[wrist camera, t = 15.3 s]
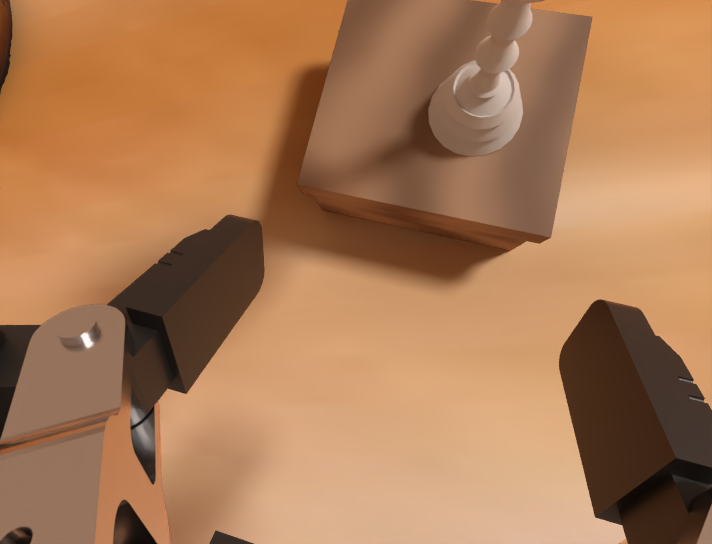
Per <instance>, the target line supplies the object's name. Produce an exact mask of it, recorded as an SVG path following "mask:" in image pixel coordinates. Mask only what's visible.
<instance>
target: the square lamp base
mask: <svg viewBox="0 0 712 544" xmlns="http://www.w3.org/2000/svg"><path fill="white" fill-rule="evenodd" d="M496 5H497V4H494V3H487V2H480V1H472V0H348V1H347V4H346V8H345V12H344V15H343V19H342V22H341V26H340V30H339V33H338V37H337V41H336V44H335V48H334V51H333V55H332V59H331V62H330V66H329V70H328V73H327V77H326V80H325V84H324V88H323V91H322V95H321V98H320V102H319V106H318V109H317V113H316V117H315V120H314V124H313V127H312V131H311V135H310V138H309V142H308V146H307V149H306V153H305V156H304V160H303V164H302V167H301V171H300V175H299V178H298V182H297V185H298V187H299V188H300V190H301V191H302V193H303V194H307V195H312V196H314V197H315V199H316V200H317V202H318V204H319V205H320V207H321V209H322V210H325V211H330V212H335V213H339V214H344V215H349V216H353V217H358V218H362V219H367V220H372V221H376V222H381V223H386V224H390V225H395V226H400V227H404V228H409V229H413V230H418V231H423V232H427V233H432V234H437V235H441V236H446V237H451V238H455V239H460V240H464V241H469V242H474V243H478V244H483V245H488V246H492V247H497V248H501V249H506V250H513V249H514V248H516V247H518V246H519V245H521V244H522V243H524V242H526V241H529V242H534V243H539V244H540V243H541V242H543V241H545V240H547V239H549V238H551V234H552V229H553V224H554V218H555V213H556V208H557V202H558V197H559V192H560V186H561V181H562V176H563V171H564V165H565V160H566V155H567V149H568V144H569V139H570V134H571V128H572V123H573V118H574V112H575V107H576V102H577V96H578V91H579V86H580V81H581V75H582V70H583V65H584V59H585V54H586V49H587V44H588V38H589V33H590V28H591V22H592V17H590V16H582V15H575V14H568V13H560V12H553V11H546V10H538V9H531V8H530V10H531V12H532V19H533V20H532V23H531V27H530V28H529V29H528V31H527V32H526V33H525V34H524V35H522V36H521V37H519V38H517V39H515V41H516V43H517V45H518V47H519V56H518V59H517V61H516V62H515V64H514V65H513V66H512V67H511V68H510V70H511V71H512V72H513V73H514V74H515V77H516V79H517V81H518V83H519V90H520V93H521V99H522V107H523V116H522V120H521V123H520V127H519V129H518V131H517V132H516V134H515V135H514V137H513V138H512V140H511V141H509V142H508V143H507V144H506V145H504V146H503V147H502V148H501V149H499V150H497V151H494V152H492V153H489V154H487V155H481V156H466V155H461V154H456V153H454V152H452V151H451V150H449V149H447V148H445V147H444V146H443V145H442V144H441V143H440V142H439V141H438V140H437V139H436V137H435V136H434V134H433V132H432V129H431V127H430V125H429V114H428V109H429V106H430V102H431V98H432V96H433V94H434V93H435V91H436V90H437V88H438V87H439V85H440V84H441V83H443V82H444V81H445V80H446V79H447V78H448V77H449V76H451V75H452V74H453V73H454V72H455V71H456V70H457V69H458V68H460V67H461V66H462V65H464V64H467V63H469V62H471V61H475V52H476V48H477V46H478V45H479V43H480V42H481V41H482V40H484V39H485V38H486V37H488V36H491V33H490V32H489V30H488V28H487V18H488V15H489V13H490V11H491V10H492V8H494V7H495V6H496Z"/></svg>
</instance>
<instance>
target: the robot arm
mask: <svg viewBox="0 0 712 544" xmlns="http://www.w3.org/2000/svg"><path fill="white" fill-rule="evenodd" d="M263 278H264V255H263V239H262V227H261V224H260V222H259V221H256V220H251V219H247V218H243V217H238V216H234V215H227V216H225V217H224V218H223V219H222V220H221V221H220V222H218V223H217V224H216V225H215V226H214V227H213V228H212V229H211V230H206V229H204V230H202V231H200V232H198V233H195V234H193V235H191V236H188V237H186V238H184V239H183V240H182V241H181V242H180V243H179V244H177V245H176V246H175V247H174V248H173V249H172V250H171V252H170V253H167V254H166V255H165V256H163V257H162V258H161V259H160V260H159V261H158V264H154V265H153V266H152V267H151V268H149V269H148V270H147V271H146V272H145V273H144V274H142V275H141V276H140V277H139V278H138V279H137V280H135V281H134V282H133V283H132V284H131V285H130V286H128V287H127V288H126V289H125V290H124V291H123V292H121V293H120V294H119V295H118V296H117V297H116V298H114V299H113V300H112V301H111V302H110V303H108V304H107V305H102V304H90V305H83V306H79V307H75V308H71V309H68V310H66V311H63V312H61V313H59V314H57V315H55V316H53V317H52V318H50V319H49V320H47V321H46V322H45V323H43V324H42V325H0V544H170V534H169V525H168V518H167V513H166V508H165V504H164V499H163V492H162V471H161V437H160V407H159V402H158V400H159V399H160V397H161V396H162V395H163V394H164V392H165V391H166V390H167V388H168V389H171V390H175V391H178V392H181V393H185V394H187V392H188V391H189V389H190V388H191V387H192V385H193V384H194V382H195V381H196V379H197V378H198V377H199V375H200V374H201V372H202V371H203V370H204V368H205V367H206V365H207V364H208V363H209V361H210V360H211V358H212V357H213V356H214V354H215V353H216V351H217V350H218V348H219V347H220V346H221V344H222V343H223V341H224V340H225V339H226V337H227V336H228V334H229V333H230V332H231V330H232V329H233V327H234V326H235V324H236V323H237V322H238V320H239V319H240V317H241V316H242V315H243V313H244V312H245V310H246V309H247V308H248V306H249V305H250V303H251V302H252V300H253V299H254V298H255V296H256V295H257V293H258V292H259V290H260V288H261V285H262V282H263ZM559 369H560V374H561V378H562V382H563V386H564V390H565V395H566V399H567V403H568V407H569V411H570V415H571V419H572V424H573V428H574V432H575V436H576V440H577V444H578V448H579V453H580V457H581V461H582V465H583V469H584V473H585V477H586V482H587V486H588V490H589V494H590V498H591V502H592V506H593V510H594V515H595V517H596V518H599V519H603V520H606V521H609V522H613V523H616V524H620V525H623V529H624V532H625V536H626V539H625V540H623V541H622V542H620V543H619V544H712V410H711V408H710V407H709V405H708V404H707V403H704V399H705V398H704V396H703V395H702V393H701V391H700V389H699V388H698V386H697V384H693V380H694V379H693V378H692V376H691V374H690V372H689V371H688V369H687V367H686V366H685V364H684V362H683V360H682V359H681V357H680V356H679V355H678V354H677V353H676V352H675V351H674V350H673V349H672V348H671V347H670V346H669V345H668V344H667V343H666V342H665V341H664V340H663V339H662V338H661V337H660V336H655V334H654V332H653V330H652V329H651V327H650V325H649V323H648V321H647V319H646V318H645V316H644V314H643V312H642V311H641V310H640V309H638V308H636V307H632V306H627V305H623V304H618V303H614V302H610V301H605V300H597V301H595V302H594V303H592V304H591V306H590V307H589V309H588V310H587V311H586V313H585V314H584V316H583V317H582V319H581V320H580V322H579V323H578V325H577V326H576V327H575V329H574V330H573V332H572V333H571V335H570V336H569V338H568V339H567V341H566V342H565V344H564V345H563V347H562V350H561V353H560V359H559ZM210 544H253V543H250V542H247V541H245V540H242V539H239V538H236V537H233V536H230V535H227V534H224V533H221V532H218V531H215V533H214V535H213V537H212V539H211V541H210Z"/></svg>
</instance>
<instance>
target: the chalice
mask: <svg viewBox="0 0 712 544" xmlns="http://www.w3.org/2000/svg"><path fill="white" fill-rule="evenodd" d="M540 1H543V0H501V2H500V3H499V4H497V5H496V6H495V7H494V8H492V10H491V11H490V13H489V15H488V18H487V28H488V30H489V32H490V33H491V36H488V37H486V38H485V39H484V40H482V41H481V42H480V43H479V45H478V46H477V48H476V52H475V61H471V62H469V63H467V64H464V65H462V66H461V67H460V68H458V69H457V70H456V71H455V72H454V73H453V74H452V75H451V76H449V77H448V78H447V79H446V80H445V81H444V82H443V83H441V84H440V85H439V87H438V88H437V90H436V91H435V93H434V94H433V96H432V98H431V102H430V106H429V109H428V114H429V125H430V127H431V129H432V132H433V134H434V136H435V137H436V139H437V140H438V141H439V142H440V143H441V144H442V145H443V146H444V147H445V148H447V149H449V150H451V151H452V152H454V153H456V154H461V155H466V156H481V155H487V154H489V153H492V152H494V151H497V150H499V149H501V148H502V147H503V146H504V145H506V144H507V143H508V142H509V141H511V140H512V138H513V137H514V135H515V134H516V132H517V131H518V129H519V127H520V123H521V120H522V116H523V107H522V99H521V93H520V90H519V83H518V81H517V79H516V77H515V74H514V73H513V72H512V71H511V70H510V68H511V67H512V66H513V65H514V64H515V62H516V61H517V59H518V56H519V47H518V45H517V43H516V41H515V39H517V38H519V37H521V36H522V35H524V34H525V33H526V32H527V31H528V29H529V28H530V27H531V23H532V20H533V19H532V12H531V10H530V6H531V3H534V2H540Z"/></svg>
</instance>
